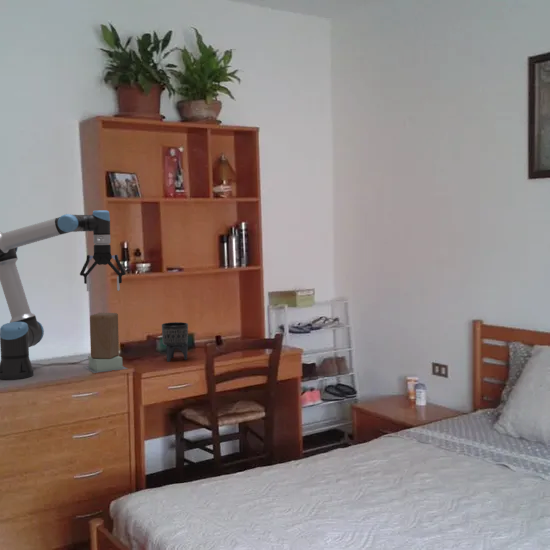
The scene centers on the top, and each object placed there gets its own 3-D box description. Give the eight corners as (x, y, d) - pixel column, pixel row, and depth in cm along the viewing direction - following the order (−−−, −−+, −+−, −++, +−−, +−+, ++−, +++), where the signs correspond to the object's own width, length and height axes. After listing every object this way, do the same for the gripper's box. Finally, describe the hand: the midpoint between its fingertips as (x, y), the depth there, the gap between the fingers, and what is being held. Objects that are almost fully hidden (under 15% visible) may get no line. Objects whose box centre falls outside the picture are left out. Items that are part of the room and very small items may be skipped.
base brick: (96, 371, 302) (96, 360, 302) (88, 367, 312) (88, 356, 312) (122, 368, 309) (122, 357, 308) (113, 363, 319) (113, 353, 318)
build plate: (93, 375, 300) (93, 372, 299) (83, 368, 313) (83, 366, 313) (128, 370, 308) (128, 368, 308) (116, 364, 322) (116, 362, 321)
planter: (177, 363, 324) (176, 326, 323) (156, 360, 331) (156, 324, 330) (193, 358, 335) (193, 323, 334) (173, 356, 342) (173, 321, 341)
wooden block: (110, 359, 304) (109, 315, 303) (90, 358, 306) (88, 315, 305) (119, 355, 314) (118, 312, 313) (99, 354, 316) (98, 312, 314)
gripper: (72, 244, 301) (73, 291, 303) (128, 244, 304) (130, 291, 305) (75, 244, 309) (77, 290, 310) (130, 243, 311) (132, 289, 313)
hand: (103, 290), depth 308 cm, fingers open, 13 cm apart
